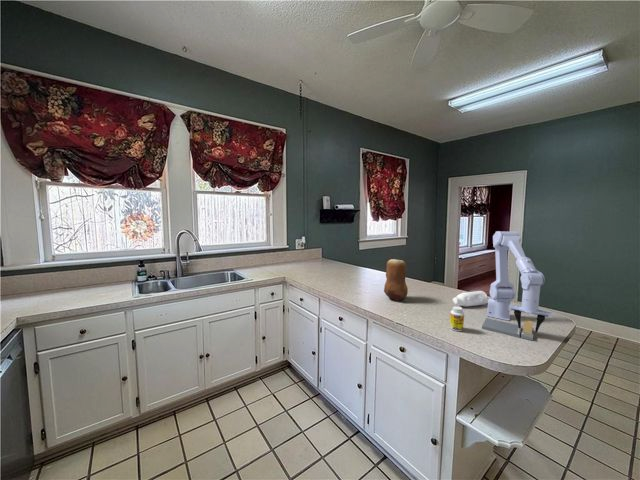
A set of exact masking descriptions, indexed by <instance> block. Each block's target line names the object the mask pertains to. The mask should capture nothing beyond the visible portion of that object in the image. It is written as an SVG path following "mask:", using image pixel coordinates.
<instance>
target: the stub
mask: <svg viewBox="0 0 640 480" xmlns="http://www.w3.org/2000/svg"><path fill="white" fill-rule="evenodd" d="M533 324H534V320H533V319H530V318H525V317H524V319H523V325H521V333H520V339H521V338H522V339H525V340H529V341H534V332H535V328H534V326H533Z"/></svg>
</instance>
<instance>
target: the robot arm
mask: <svg viewBox="0 0 640 480" xmlns="http://www.w3.org/2000/svg"><path fill="white" fill-rule="evenodd" d="M521 242H522V236H521V234H520V232H519V231H517V230H516V231H515V230H513V231H500V230H498V231H497V230H496V231H495V233H493V235H492V244H493V246H492V247H493V249H494V251H495V252H494V253H495V278H496V279H495V281H493V282H492V283H491V284H490V286H489V287H490V288H489V296H490V297H489V298H488V299H487V308H486V309H487V310H486V312H487V313H486V316H487V317H491V318H495V319H499V320H504V321H508V322H509V321H510V320H511V317H512V316H511V314H510V312H511V311H513V314H514V317H515V318H516V322H517V325H518V328H520V327H521V328H522V321H521V317H522V313H525V314H530V315H534V316H536V324H535V328H534V332H536V333H538V331H539V328H540V326H542V323H543V322H545V320H546V318H548V319H552V312H551V311H546V310H542V309H540V308H539V305H540V294H541V293H540V292H541V286H543V285H544V284H545V281H546V280H545V276H544V274H543V273H542V272H541V271H539V270H538V269H537V268H536V267H535V264H534V262H533V261H532V259H531V258H530V257H527V256H526V253H525V251H524V249H523V246H522V244H521ZM509 250H510V251H511V252H512V254H513V256H514V257H515V258H516V261H515V265H516V267H517V269H518V270H519V272H520V275H521V276H520V277H519V278H520V283H521V288H522V296H521V305H512V304H511V302H513V300H514V299H515V298H516V295H517V293H516V290H515V285H514V284H513V283H511V282H510V280H509V258H508V256H509V254H508V252H509Z"/></svg>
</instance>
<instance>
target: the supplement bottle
mask: <svg viewBox="0 0 640 480" xmlns="http://www.w3.org/2000/svg"><path fill="white" fill-rule="evenodd" d="M449 315H450V317H449V318H450V319H449V328H450V329H451V330H452V331H454V332H463V330H464V326H465V325H464V322H465V313H464V312H463V307H462V306H456V305H455V306H453V307H452V310H450V314H449Z"/></svg>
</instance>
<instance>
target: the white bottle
mask: <svg viewBox="0 0 640 480" xmlns="http://www.w3.org/2000/svg"><path fill="white" fill-rule="evenodd" d="M452 302H453V303H454V304H455V306H457V307H465V308H468V307H469V308H470V307H476V306H485V305H486V304H488V296H487V293H486V292H484V291H482V290H476V291H475V290H473V291H468V292H461V293H459V294H457V296H456V297H453V298H452Z"/></svg>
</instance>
